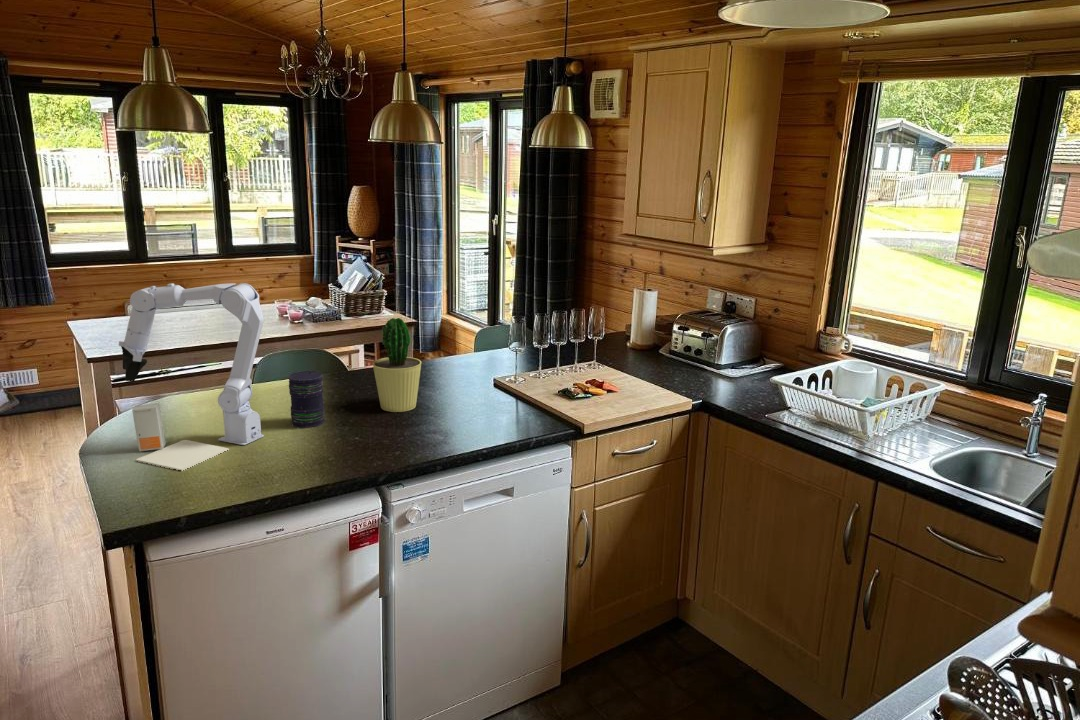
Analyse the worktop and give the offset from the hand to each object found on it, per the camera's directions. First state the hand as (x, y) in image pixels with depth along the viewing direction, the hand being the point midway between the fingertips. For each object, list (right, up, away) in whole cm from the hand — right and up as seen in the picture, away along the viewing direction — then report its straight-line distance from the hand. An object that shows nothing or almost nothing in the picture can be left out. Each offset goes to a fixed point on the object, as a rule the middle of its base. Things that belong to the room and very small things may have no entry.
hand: (128, 374), depth 208 cm
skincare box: (+9, -20, -4) cm, 22 cm away
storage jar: (+44, -15, +19) cm, 50 cm away
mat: (+19, -21, -8) cm, 30 cm away
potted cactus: (+69, -11, +36) cm, 78 cm away
